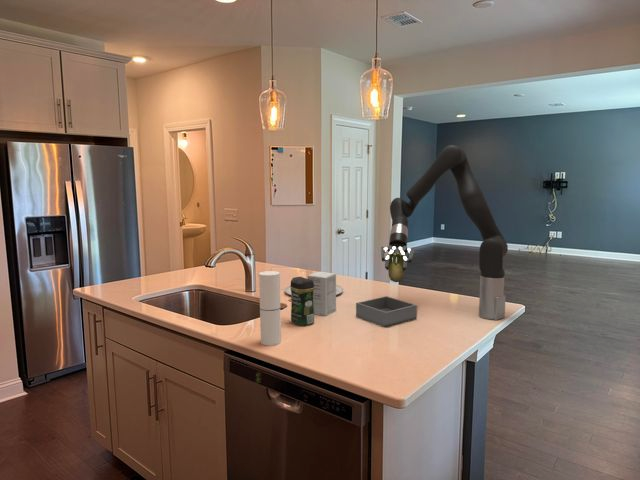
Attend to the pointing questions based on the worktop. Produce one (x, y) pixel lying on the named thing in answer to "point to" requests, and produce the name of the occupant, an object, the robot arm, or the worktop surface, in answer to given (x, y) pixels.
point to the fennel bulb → (396, 268)
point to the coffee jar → (302, 301)
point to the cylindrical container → (270, 307)
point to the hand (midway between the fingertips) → (395, 269)
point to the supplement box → (324, 292)
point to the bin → (386, 311)
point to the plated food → (338, 290)
